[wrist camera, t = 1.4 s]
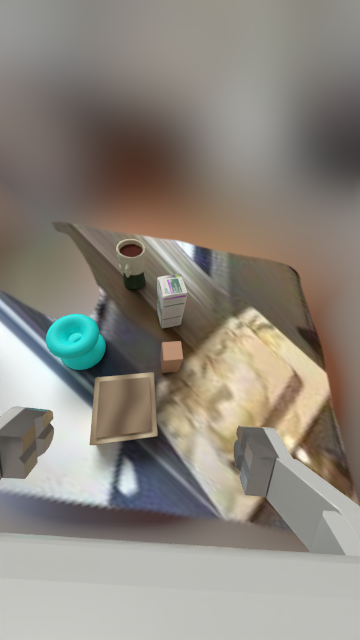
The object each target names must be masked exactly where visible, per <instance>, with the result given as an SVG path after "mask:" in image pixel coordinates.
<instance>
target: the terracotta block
mask: <svg viewBox="0 0 360 640" xmlns="http://www.w3.org/2000/svg"><path fill="white" fill-rule="evenodd" d="M182 361H183V354H182V346H181V341H175V342H162V348H161V368H162V373H169V372H178V371H179V369H180V366H181V364H182Z"/></svg>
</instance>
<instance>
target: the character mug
mask: <svg viewBox="0 0 360 640" xmlns="http://www.w3.org/2000/svg"><path fill="white" fill-rule="evenodd" d="M116 250H117V257H118V260H119V267H120V269H121V270H122V271H123V272H124V285H125V286H126V287H127V288H130V289H139V288H142V287H143V286H144V284H145V277H144V273H143V272H144V270H145V269H146V253H145V246H144V244H143V243H142V242H140V241H138V240H135V239H127V240H123V241H121V242H119V243H118V245H117V247H116Z"/></svg>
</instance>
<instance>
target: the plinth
mask: <svg viewBox="0 0 360 640" xmlns="http://www.w3.org/2000/svg"><path fill="white" fill-rule="evenodd" d="M156 436H158V434H157V417H156V401H155V384H154V372H153V373H142V374H131V375H119V376H108V377H97V378H95V387H94V399H93V411H92V424H91V436H90V445H98V444H106V443H113V442H120V441H127V440H135V439H142V438H149V437H156Z"/></svg>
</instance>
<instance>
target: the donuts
mask: <svg viewBox="0 0 360 640" xmlns="http://www.w3.org/2000/svg"><path fill="white" fill-rule="evenodd" d="M46 344H47V347H48V349H49V350H50V352H51V353H52V354H53V355H55V356H57V357H59V358H61V360H62V362H63V363H64V364H65V365H66V366H67V367H69V368H71V369H75V370H84V369H88V368H91V367H93V366H94V365H96V364H97V363H98V362H99V361H100V360H101V359H102V357H103V356H104V353H105V349H106V344H105V341H104V338H103V337H102V336H101V335H100V334H99V328H98V326H97V324H96V322H95V321H94V320H93V319H91V318H90V317H88V316H85V315H82V314H71V315H67V316H64V317H62V318H60V319H58V320H57V321H56V322H54V323H53V324H52V326H51V327H50V328H49V330H48V332H47V336H46Z"/></svg>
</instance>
